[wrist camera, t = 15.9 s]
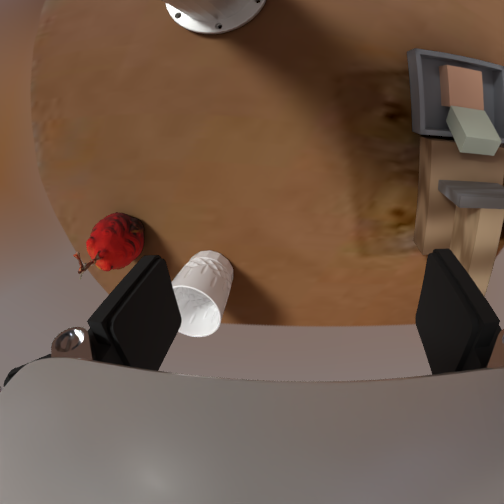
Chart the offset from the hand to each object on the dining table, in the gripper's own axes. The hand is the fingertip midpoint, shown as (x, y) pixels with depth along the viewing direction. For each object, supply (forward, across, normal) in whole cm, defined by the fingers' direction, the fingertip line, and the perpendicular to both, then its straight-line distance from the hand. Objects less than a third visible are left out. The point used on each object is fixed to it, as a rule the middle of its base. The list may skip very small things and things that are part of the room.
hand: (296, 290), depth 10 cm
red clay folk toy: (+29, +26, +9) cm, 40 cm away
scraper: (+24, -20, +10) cm, 33 cm away
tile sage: (+25, -20, -3) cm, 32 cm away
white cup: (+28, +14, +16) cm, 36 cm away
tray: (+28, -20, -8) cm, 35 cm away
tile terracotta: (+25, -20, -8) cm, 33 cm away
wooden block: (+28, -20, +5) cm, 35 cm away
